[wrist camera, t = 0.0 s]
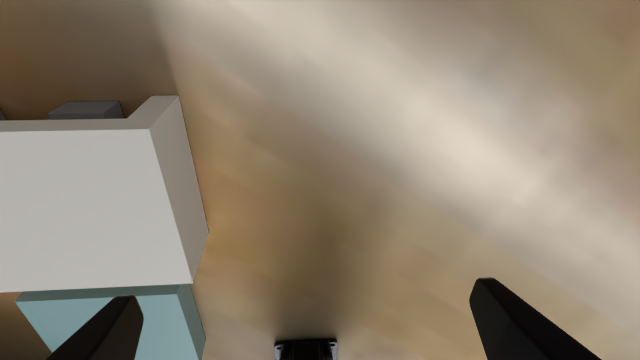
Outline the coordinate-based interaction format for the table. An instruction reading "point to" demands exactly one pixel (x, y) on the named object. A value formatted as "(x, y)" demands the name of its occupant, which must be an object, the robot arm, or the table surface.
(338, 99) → the table surface
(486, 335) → the robot arm
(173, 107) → the white box
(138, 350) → the light blue slab
